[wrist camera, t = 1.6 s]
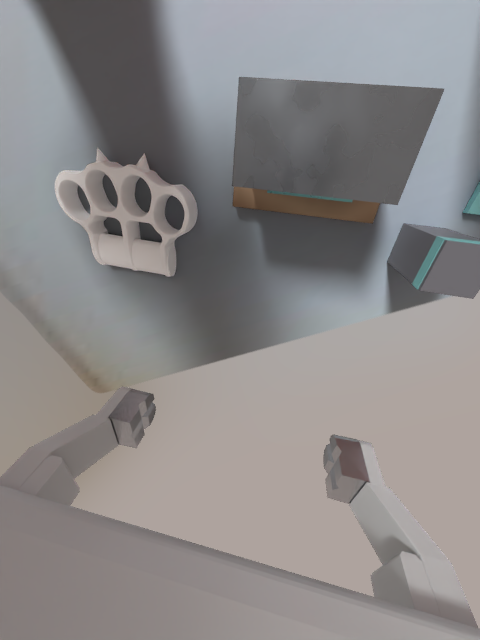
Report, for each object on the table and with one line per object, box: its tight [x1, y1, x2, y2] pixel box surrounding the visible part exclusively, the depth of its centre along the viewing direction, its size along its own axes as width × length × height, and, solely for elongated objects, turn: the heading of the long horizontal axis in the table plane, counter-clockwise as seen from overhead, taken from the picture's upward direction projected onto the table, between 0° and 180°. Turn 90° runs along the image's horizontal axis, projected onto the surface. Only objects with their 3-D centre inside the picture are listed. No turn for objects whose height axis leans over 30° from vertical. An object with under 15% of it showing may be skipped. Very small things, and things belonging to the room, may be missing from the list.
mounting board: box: [233, 186, 380, 224], centre depth 25 cm, size 10×16×2 cm, turn 85°
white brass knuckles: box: [55, 147, 198, 277], centre depth 31 cm, size 3×18×15 cm
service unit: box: [232, 77, 444, 205], centre depth 20 cm, size 7×12×10 cm, turn 85°
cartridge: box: [387, 223, 480, 299], centre depth 24 cm, size 5×5×9 cm
